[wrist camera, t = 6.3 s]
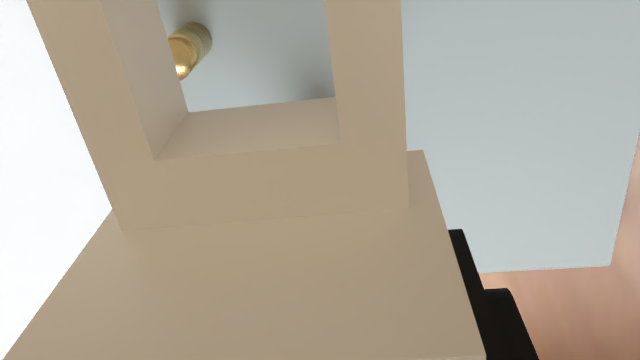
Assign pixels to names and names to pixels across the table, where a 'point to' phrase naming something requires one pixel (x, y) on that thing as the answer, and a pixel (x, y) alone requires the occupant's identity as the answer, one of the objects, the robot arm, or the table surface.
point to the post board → (469, 108)
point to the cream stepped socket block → (249, 208)
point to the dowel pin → (189, 47)
